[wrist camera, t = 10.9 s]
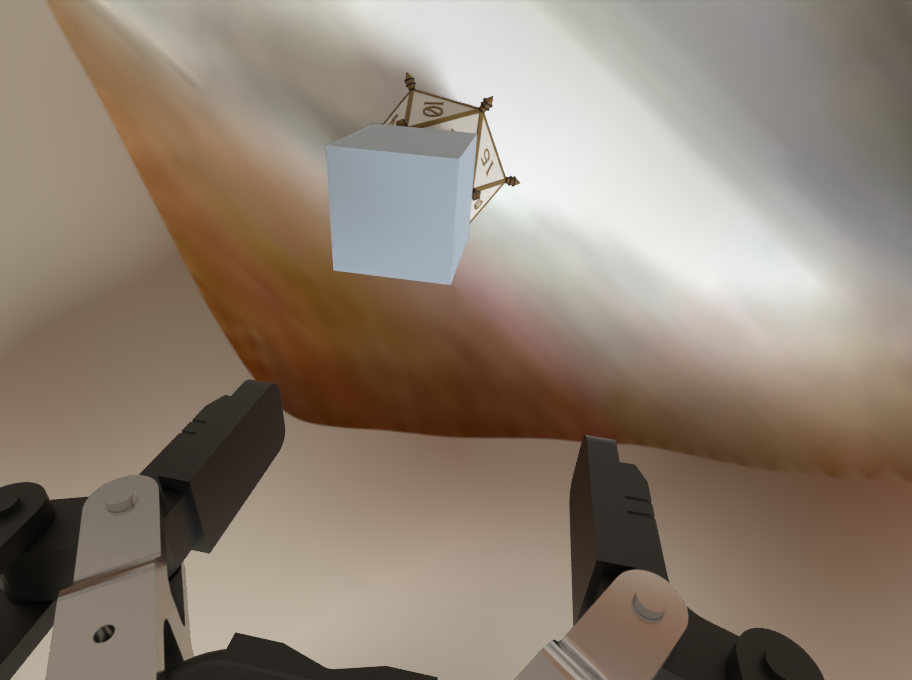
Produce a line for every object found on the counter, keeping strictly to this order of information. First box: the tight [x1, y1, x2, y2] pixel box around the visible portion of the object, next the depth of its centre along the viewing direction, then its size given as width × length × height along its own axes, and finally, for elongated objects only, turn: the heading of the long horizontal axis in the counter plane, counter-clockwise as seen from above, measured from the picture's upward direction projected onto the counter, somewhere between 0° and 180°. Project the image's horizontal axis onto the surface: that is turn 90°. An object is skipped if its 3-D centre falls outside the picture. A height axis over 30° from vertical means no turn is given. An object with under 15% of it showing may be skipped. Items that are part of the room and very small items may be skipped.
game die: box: [383, 73, 520, 223], centre depth 28 cm, size 9×8×10 cm
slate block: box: [326, 123, 477, 285], centre depth 22 cm, size 5×5×6 cm
